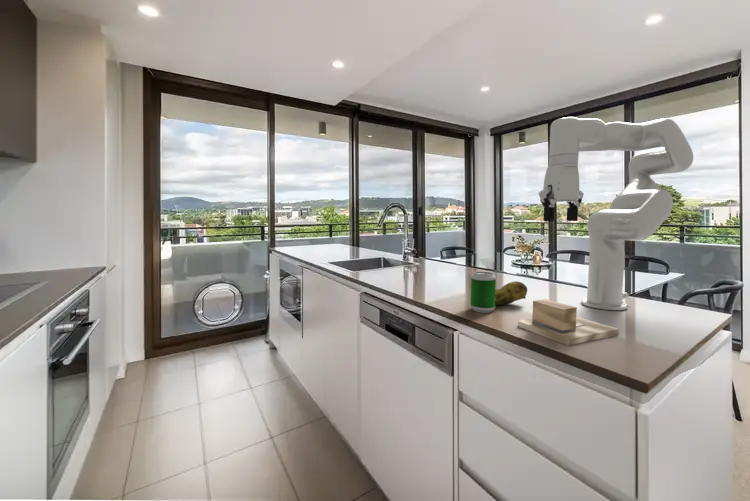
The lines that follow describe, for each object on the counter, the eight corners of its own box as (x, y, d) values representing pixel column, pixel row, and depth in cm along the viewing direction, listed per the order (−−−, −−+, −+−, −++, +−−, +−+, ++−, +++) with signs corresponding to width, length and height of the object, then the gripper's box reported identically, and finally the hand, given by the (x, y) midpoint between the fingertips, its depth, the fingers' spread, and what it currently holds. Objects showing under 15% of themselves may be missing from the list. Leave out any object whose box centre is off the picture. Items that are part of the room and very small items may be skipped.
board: (564, 318, 98) (564, 313, 98) (618, 334, 84) (618, 328, 84) (517, 326, 91) (518, 320, 91) (568, 345, 78) (568, 339, 77)
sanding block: (544, 320, 91) (545, 299, 90) (575, 331, 83) (576, 307, 82) (532, 322, 89) (533, 300, 88) (562, 333, 81) (563, 309, 80)
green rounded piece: (485, 300, 119) (486, 278, 118) (524, 302, 116) (525, 280, 115) (487, 306, 111) (488, 283, 110) (529, 309, 108) (530, 284, 107)
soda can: (496, 314, 103) (497, 275, 102) (471, 312, 104) (472, 274, 103) (493, 307, 110) (494, 271, 109) (469, 306, 112) (470, 270, 110)
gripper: (572, 165, 105) (569, 220, 107) (531, 162, 99) (528, 221, 100) (595, 162, 98) (592, 220, 100) (553, 158, 92) (550, 221, 93)
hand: (560, 221), depth 100 cm, fingers open, 9 cm apart
